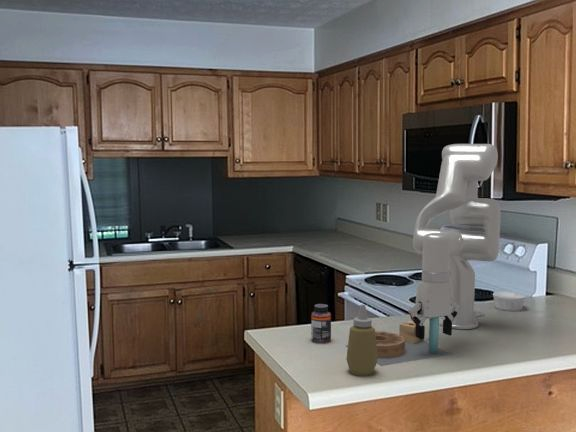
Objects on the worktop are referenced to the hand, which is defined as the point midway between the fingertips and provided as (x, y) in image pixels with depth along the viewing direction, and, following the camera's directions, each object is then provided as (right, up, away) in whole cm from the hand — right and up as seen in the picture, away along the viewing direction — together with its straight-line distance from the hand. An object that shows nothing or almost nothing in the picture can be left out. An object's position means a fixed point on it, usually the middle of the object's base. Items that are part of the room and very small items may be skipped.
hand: (433, 336), depth 177 cm
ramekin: (+40, 0, +53) cm, 67 cm away
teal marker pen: (0, -5, 0) cm, 5 cm away
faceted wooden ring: (-15, -4, +2) cm, 16 cm away
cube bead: (-4, -3, +12) cm, 13 cm away
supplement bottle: (-31, -4, +11) cm, 34 cm away
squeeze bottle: (-22, -7, -15) cm, 28 cm away
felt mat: (-10, -5, +3) cm, 11 cm away
